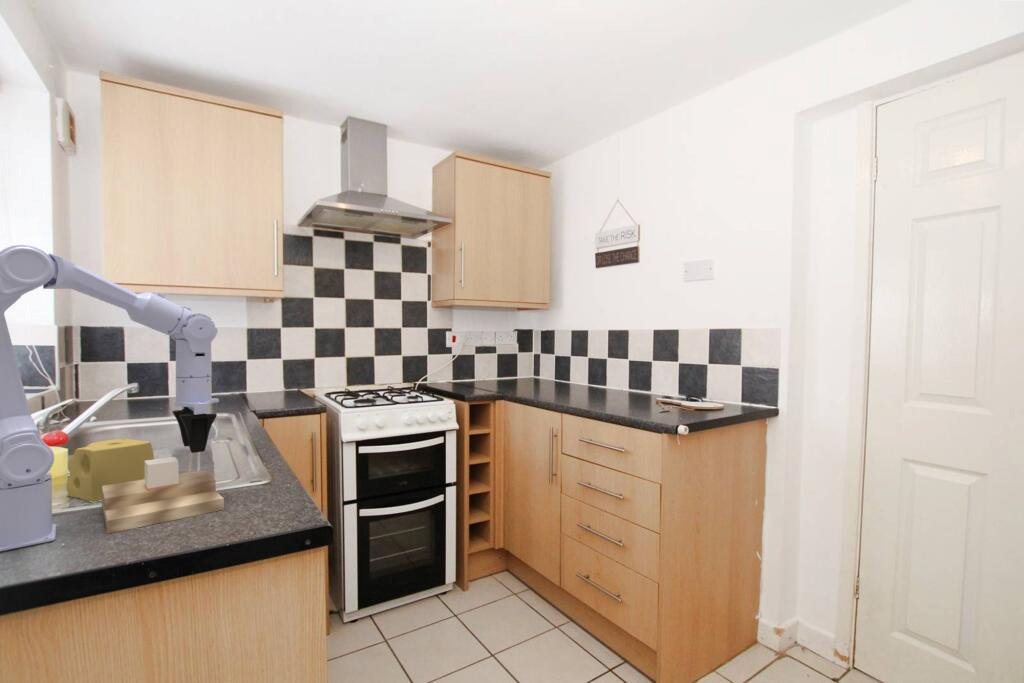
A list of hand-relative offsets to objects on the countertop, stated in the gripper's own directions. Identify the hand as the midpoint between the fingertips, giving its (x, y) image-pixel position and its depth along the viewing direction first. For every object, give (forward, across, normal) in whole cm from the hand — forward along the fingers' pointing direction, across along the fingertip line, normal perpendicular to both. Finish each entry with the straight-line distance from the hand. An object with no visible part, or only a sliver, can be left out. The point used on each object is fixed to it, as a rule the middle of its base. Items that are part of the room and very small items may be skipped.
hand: (194, 448), depth 93 cm
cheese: (+10, +17, +11) cm, 23 cm away
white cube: (+6, -1, +5) cm, 8 cm away
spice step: (+10, -2, +5) cm, 11 cm away
